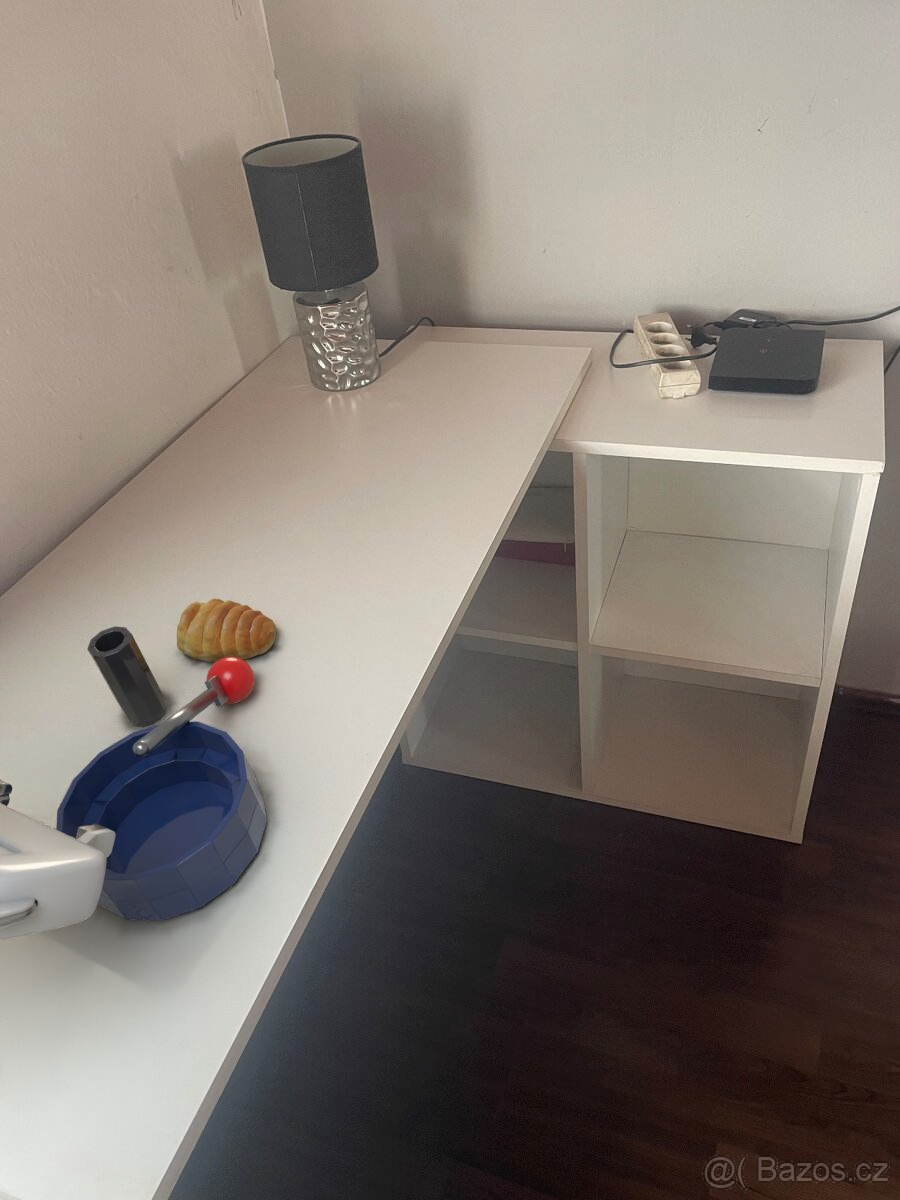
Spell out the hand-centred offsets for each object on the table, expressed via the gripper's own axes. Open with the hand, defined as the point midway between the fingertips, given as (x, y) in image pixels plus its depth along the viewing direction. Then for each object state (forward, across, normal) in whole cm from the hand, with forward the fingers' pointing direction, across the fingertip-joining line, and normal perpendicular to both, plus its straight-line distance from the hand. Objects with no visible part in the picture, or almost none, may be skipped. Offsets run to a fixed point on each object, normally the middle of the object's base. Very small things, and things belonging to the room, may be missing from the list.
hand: (53, 815), depth 56 cm
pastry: (+27, +10, -10) cm, 31 cm away
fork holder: (+20, +12, -3) cm, 23 cm away
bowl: (+13, -1, +4) cm, 13 cm away
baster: (+6, -1, -4) cm, 7 cm away
